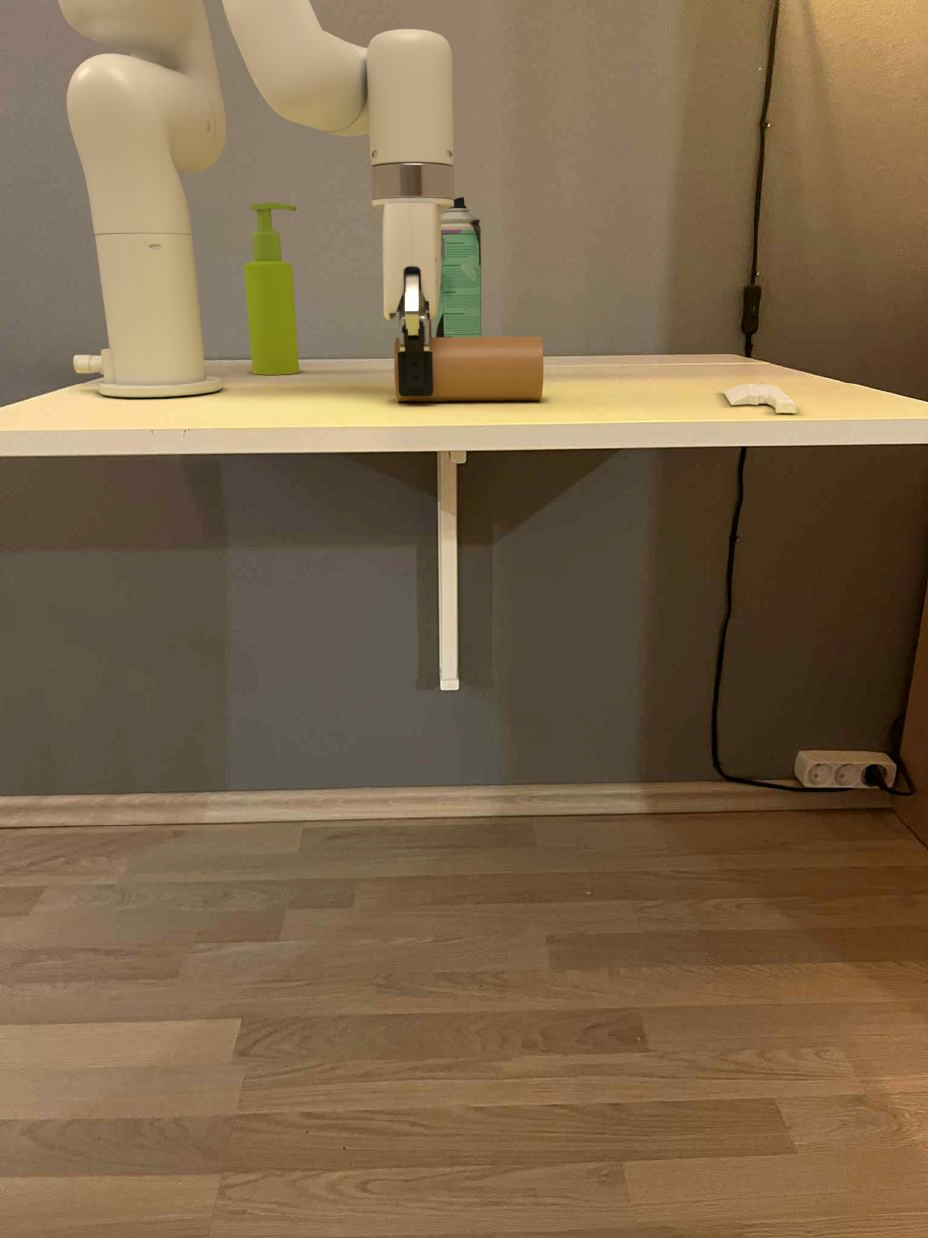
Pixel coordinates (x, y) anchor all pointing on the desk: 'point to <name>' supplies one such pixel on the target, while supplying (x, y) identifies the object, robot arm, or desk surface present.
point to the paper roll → (482, 369)
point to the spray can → (459, 274)
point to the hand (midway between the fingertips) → (417, 389)
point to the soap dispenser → (270, 300)
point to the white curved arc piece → (761, 396)
